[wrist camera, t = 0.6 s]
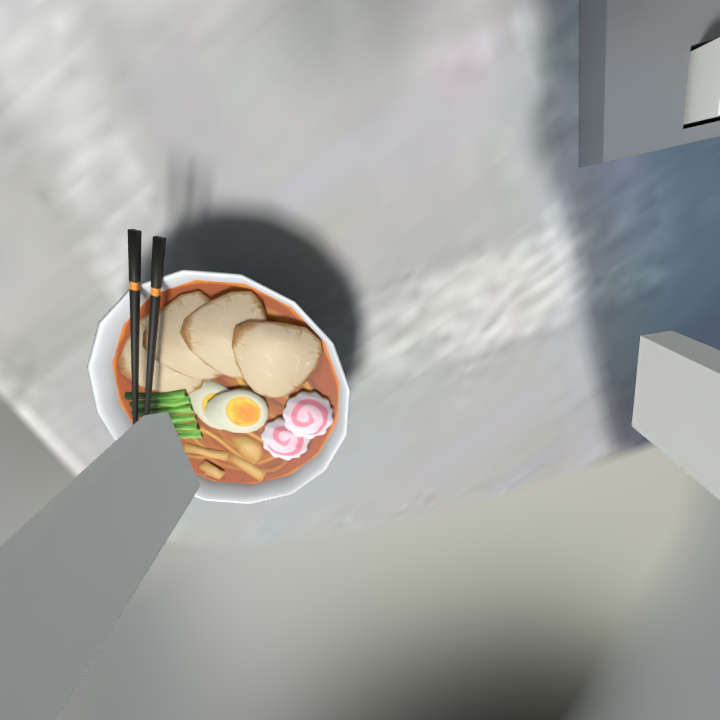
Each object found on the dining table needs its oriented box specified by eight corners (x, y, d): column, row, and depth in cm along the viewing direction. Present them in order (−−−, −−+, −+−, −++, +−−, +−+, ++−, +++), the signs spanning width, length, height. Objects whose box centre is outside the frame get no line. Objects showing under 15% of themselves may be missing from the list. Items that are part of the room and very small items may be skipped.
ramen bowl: (323, 485, 45) (313, 542, 37) (131, 437, 43) (79, 486, 35) (386, 284, 35) (390, 305, 28) (145, 213, 34) (78, 214, 26)
